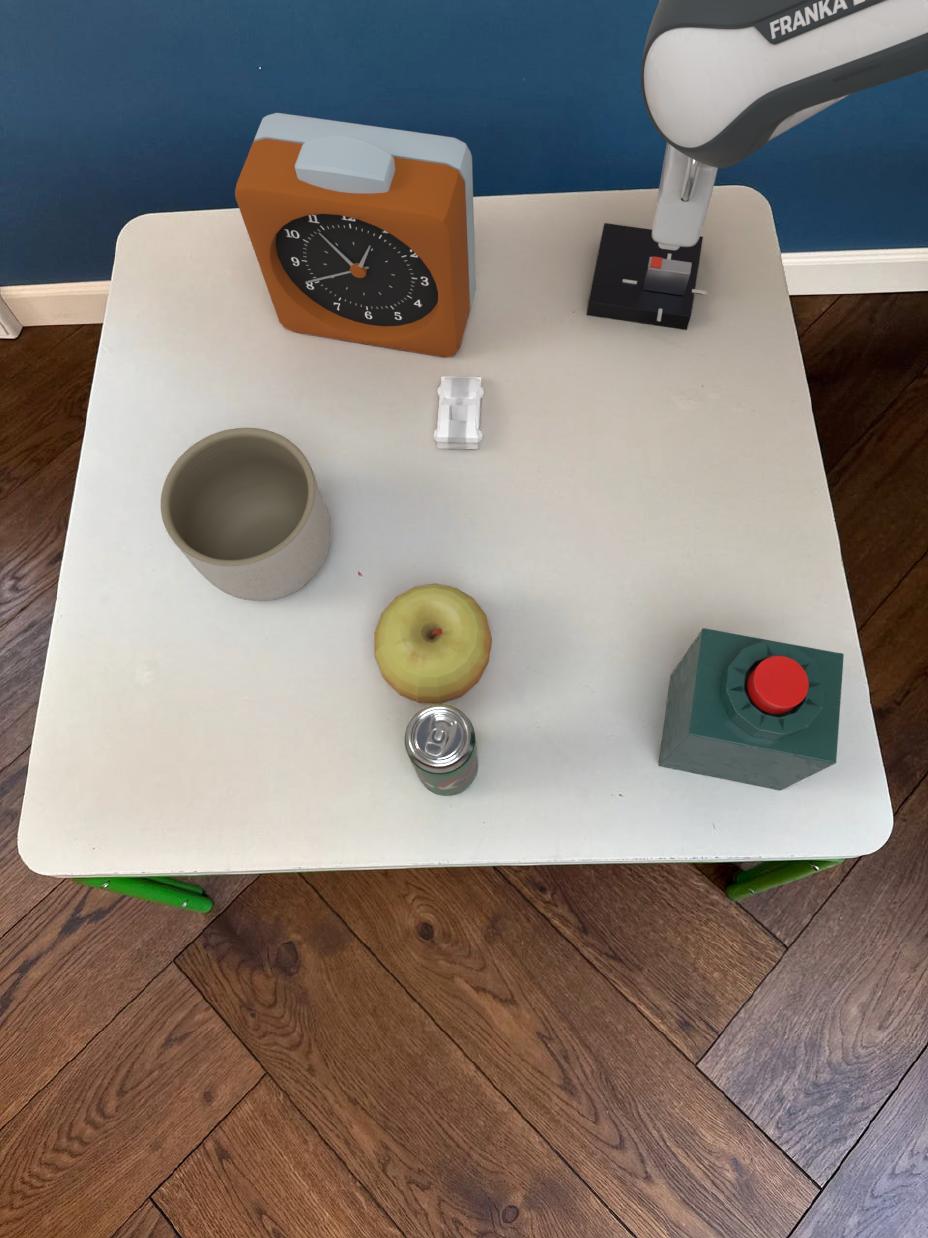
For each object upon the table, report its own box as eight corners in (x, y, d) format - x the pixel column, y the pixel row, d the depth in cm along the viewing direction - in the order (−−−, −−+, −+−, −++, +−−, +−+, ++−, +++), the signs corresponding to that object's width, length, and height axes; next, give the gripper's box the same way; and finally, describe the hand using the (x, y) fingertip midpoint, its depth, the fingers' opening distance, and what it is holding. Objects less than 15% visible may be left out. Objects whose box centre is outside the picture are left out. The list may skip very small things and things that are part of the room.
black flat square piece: (709, 252, 89) (714, 236, 87) (696, 340, 86) (701, 326, 84) (601, 237, 90) (604, 221, 88) (584, 324, 87) (586, 309, 85)
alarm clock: (280, 332, 88) (219, 163, 68) (304, 264, 91) (252, 82, 71) (458, 362, 86) (448, 197, 66) (477, 291, 89) (473, 113, 69)
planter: (363, 524, 80) (344, 464, 70) (292, 638, 77) (261, 592, 66) (251, 470, 82) (216, 404, 72) (176, 578, 79) (129, 524, 69)
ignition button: (802, 668, 60) (810, 661, 58) (798, 718, 59) (806, 712, 57) (749, 658, 61) (756, 651, 59) (744, 708, 59) (751, 701, 58)
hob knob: (685, 284, 86) (692, 260, 82) (683, 295, 85) (690, 272, 82) (644, 278, 86) (650, 254, 83) (642, 289, 85) (648, 266, 82)
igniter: (789, 697, 73) (854, 645, 60) (781, 790, 71) (846, 758, 58) (670, 674, 74) (708, 619, 61) (658, 766, 72) (694, 728, 59)
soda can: (486, 747, 73) (484, 713, 61) (466, 805, 71) (461, 781, 60) (429, 728, 73) (417, 691, 62) (408, 785, 72) (392, 758, 61)
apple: (500, 703, 74) (501, 677, 66) (387, 721, 74) (375, 697, 66) (482, 597, 77) (480, 560, 70) (373, 614, 77) (360, 579, 70)
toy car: (432, 453, 82) (431, 440, 80) (437, 381, 85) (436, 367, 83) (482, 454, 82) (481, 442, 80) (485, 382, 85) (485, 368, 83)
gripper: (744, 162, 58) (698, 302, 71) (771, -45, 65) (725, 118, 78) (650, 150, 59) (622, 291, 72) (686, -54, 66) (654, 109, 79)
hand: (676, 199), depth 75 cm, fingers open, 8 cm apart
